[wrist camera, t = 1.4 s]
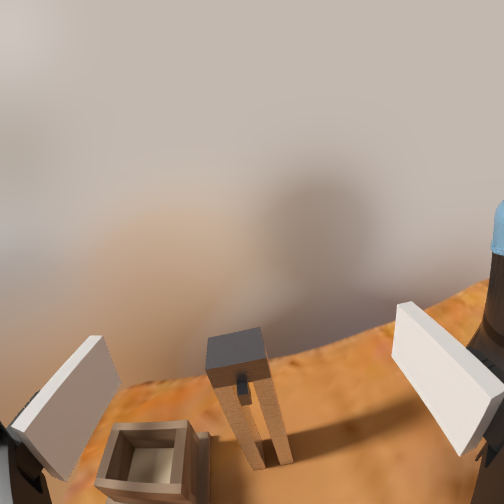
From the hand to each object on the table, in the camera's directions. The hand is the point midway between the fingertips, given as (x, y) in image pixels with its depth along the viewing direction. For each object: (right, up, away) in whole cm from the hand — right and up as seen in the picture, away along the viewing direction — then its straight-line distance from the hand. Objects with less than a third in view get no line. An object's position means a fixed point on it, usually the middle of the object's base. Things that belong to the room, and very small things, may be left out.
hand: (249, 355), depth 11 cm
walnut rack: (-10, -21, +12) cm, 27 cm away
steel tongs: (+2, -18, +14) cm, 23 cm away
